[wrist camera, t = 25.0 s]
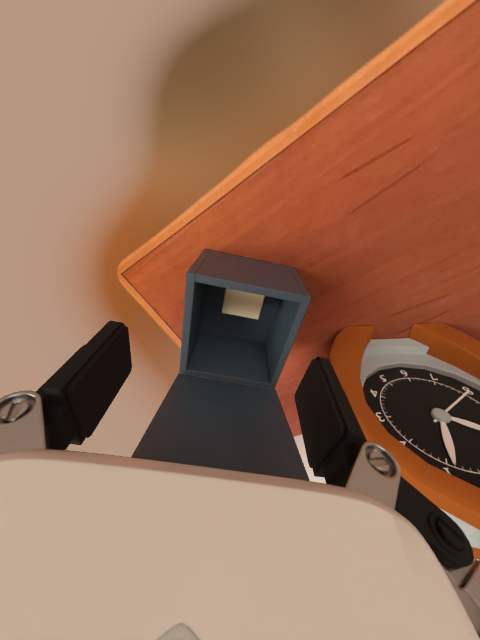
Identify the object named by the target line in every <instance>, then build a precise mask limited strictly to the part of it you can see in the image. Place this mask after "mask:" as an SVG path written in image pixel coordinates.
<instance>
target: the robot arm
mask: <svg viewBox="0 0 480 640" xmlns="http://www.w3.org/2000/svg"><path fill="white" fill-rule="evenodd" d="M131 368H132V363H131V353H130V343H129V333H128V327H126V326H125V325H124V323H120V322H115V321H109V322H108V323H107V324H106V325H105V326H104V327H103V328H102V329H101V330H100V331H99V332H98V333H97V334H96V335H95V336H94V337H93V338H92V339H91V340H90V341H89V342H88V343H87V344H86V345H84V346H82V347H81V348H80V349H79V350H78V351H77V352H76V353H75V354H74V355H73V356H72V357H71V358H70V359H69V360H68V361H67V362H66V363H65V364H64V365H63V366H62V367H61V368H60V369H59V370H58V371H57V372H56V373H55V374H54V375H53V376H51V378H50V379H48V380H47V381H46V383H44V384H43V385H42V386H41V387H40V388H39V389H38V391H36V392H33V391H19V392H15V393H12V394H9V395H6V396H4V397H2V398H1V399H0V640H480V560H479V561H478V560H477V559H476V558H475V557H474V554H473V549H472V547H471V545H470V542H469V540H468V539H467V537H466V535H465V534H464V532H463V531H462V530H461V528H460V527H459V526H458V525H457V523H456V522H454V521H453V520H452V519H451V518H450V517H449V516H448V515H447V514H446V513H445V512H443V511H442V510H441V509H440V508H439V507H437V506H436V505H435V504H434V503H433V502H431V501H430V500H429V499H428V498H427V497H425V496H424V495H423V494H422V493H421V492H419V491H418V490H417V489H416V488H415V487H413V486H412V485H411V484H410V483H409V482H407V481H406V480H405V479H404V478H403V477H401V469H400V467H399V464H398V462H397V460H396V459H395V457H394V456H393V455H392V454H391V453H390V452H389V451H388V450H387V449H386V448H385V447H383V446H382V445H380V444H378V443H376V442H373V441H367V440H366V437H365V435H364V433H363V431H362V429H361V426H360V424H359V422H358V420H357V418H356V416H355V413H354V411H353V409H352V407H351V405H350V402H349V400H348V398H347V396H346V394H345V392H344V390H343V388H342V386H341V384H340V381H339V379H338V377H337V375H336V373H335V370H334V368H333V366H332V364H331V362H330V360H329V359H326V358H320V357H317V358H316V359H313V360H312V361H311V363H310V365H309V367H308V369H307V371H306V373H305V375H304V377H303V379H302V381H301V383H300V385H299V387H298V389H297V391H296V393H295V402H296V407H297V411H298V416H299V421H300V425H301V430H302V435H303V439H304V444H305V449H306V454H307V458H308V463H309V466H310V467H311V468H313V472H314V476H319V477H325V480H326V484H323V483H316V482H310V481H304V480H298V479H291V478H283V477H276V476H269V475H261V474H254V473H247V472H239V471H232V470H224V469H216V468H209V467H201V466H193V465H186V464H178V463H170V462H162V461H154V460H146V459H138V458H130V457H122V456H114V455H106V454H97V453H86V452H78V451H69V450H66V448H67V447H68V445H69V444H76V445H81V444H82V443H83V441H84V440H85V438H86V437H87V438H88V437H90V436H91V435H92V433H93V431H94V430H95V429H96V427H97V425H98V424H99V422H100V420H101V419H102V417H103V416H104V414H105V412H106V411H107V409H108V407H109V406H110V404H111V403H112V401H113V399H114V398H115V396H116V395H117V393H118V392H119V390H120V388H121V387H122V385H123V383H124V382H125V380H126V379H127V377H128V375H129V374H130V372H131Z"/></svg>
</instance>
